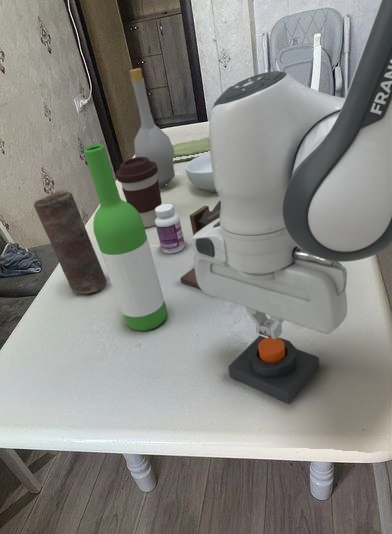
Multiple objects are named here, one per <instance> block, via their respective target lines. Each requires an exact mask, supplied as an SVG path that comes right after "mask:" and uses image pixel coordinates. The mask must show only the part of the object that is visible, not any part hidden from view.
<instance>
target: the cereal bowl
mask: <svg viewBox="0 0 392 534" xmlns="http://www.w3.org/2000/svg"><path fill="white" fill-rule="evenodd" d="M185 172H186V176H187V178H188V180H189V182H190V183H191V184H192V185H193V186H194V187H195V188H198V189H200V190H205V191H208V192H211V193H217V190H216V188H215V185H214V180H213V172H212V164H211V154H210V153H208V154H205V155H202V156H199V157H197V158H195V159H192V160H189V162H187V164H185Z"/></svg>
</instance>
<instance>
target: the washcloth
mask: <svg viewBox="0 0 392 534" xmlns="http://www.w3.org/2000/svg"><path fill="white" fill-rule="evenodd" d="M172 146H173V149H174V157H173V158H176V157H182V156H189V155H195V154H199V153H204V152H208V151H210V139H209V137H207V136H206V137H202V138H200V139H193V140H188V141H184V142H179V143H175V144H172ZM197 157H199V156H197ZM197 157H191V158H186V159H180V160H174V161H173V164H177V163H179V162H186V161H191V160H193V159H195V158H197Z"/></svg>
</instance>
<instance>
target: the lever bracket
mask: <svg viewBox="0 0 392 534" xmlns="http://www.w3.org/2000/svg"><path fill="white" fill-rule="evenodd" d="M206 210H207V211H210V206H209V205H202V206H201V207H200V208H199V209H197V210H195V211H194V212H192V213H191V214H189V220H190V226H191V231H192V236H193V235H195V234H196V233H197V232H198V231H200V230H201V229H202V228H201V226H200V224H199V223H198V221H199V219H200V218H201V217H202V215H203V214H204V213H205V211H206ZM220 210H221V209H220ZM220 210H218V211H217V212H215V213H214V214H213V215H211V216H210V217H208V218H207V219H206V221H207V225H208V224H210V223H211V222H213V221H214V220H216V219H218V218H220ZM180 283H181V284H183V285H186V286H189V287H191V288H192V287H193V288H196V289H199V290H201V288H200V287H199V286H198V283H197V279H196V274H195V268H194V267H193V268H191V269H190V270H189V271H187V272H186V273H185V274H183V275H182V276H181V277H180Z"/></svg>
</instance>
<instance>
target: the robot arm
mask: <svg viewBox="0 0 392 534" xmlns="http://www.w3.org/2000/svg"><path fill="white" fill-rule="evenodd" d="M378 3H379V4H378V6H377V9H376V12H375V14H374V17H373V21H372V23H371V25H370V28H369V32H368V34H367V36H366V40H365V42H364V45H363V47H362V51H361V53H360V56H359V58H358V62H357V64H356V66H355V68H354V69H355V70H354V72H353V75H352V77H351V81H350V84H349V86H348V89H347V92H346V95H345V97H340V96H336V95H331V94H328V93H325V92H321V91H319V90H316V89H314V88H311V87H309V86H307V85H305V84H303V83H301V82H300V81H298V80H296V79H295V78H294V77H293V76H292V75H291V74H289V73H288V72H286V71H280V70H273V71H268V72H262V73H259V74H255V75H251V76H250V77H247V78H245V79H242V80H240V81H238V82H237V83H235V84H234V85H231V86H229V87H228V88H227V89H226V90H224V91H223V92H222V93H221V94H220V96H219V97H217V98H216V100H215V101H214V103H213V106H212V107H211V108H210V112H209V122H208V135H209V139H210V154H211V164H212V172H213V180H214V185H215V188H216V190H217V192H216V193H217V195H218V197H219V201H220V202H221V210H220V218H218V219H216V220H214V221H213V222H211V223H210V224H208V225H207V226H205V227H204V228H202V229H201V230H200V231H198V232H197V233H196V234H195V235H193V234H192V236H190V239H189V243H190V247H191V250H192V251H193V252H194V254H193V268H195V274H196V279H197V283H198V286H199V287H200V288H201V289H200V290H201V291H202V292H203V294H205V295H208V296H210V297H214V298H217V299H220V300H223V301H225V302H229V303H232V304H235V305H238V306H241V307H244V308H246V312H247V314H248V316H249V318H250V319H251V320H252V322H253V324H255V332H256V333H257V334H259V335H261V336H263V337H266V338H269V337H270V338H272V339H277V338H280V336H281V335H282V333H283V328H282V327H283V325H282V324H283V323H284V321H286V322H289V323H292V324H295V325H298V326H301V327H303V328H307V329H310V330H313V331H315V332H318V333H322V334H324V335H329V334H331V333H333V332H334V331H336V330H337V329H338V328H339V327H340V326H341V325H342V323H343V322H344V321H345V320H346V318H347V316H348V298H347V285H348V284H347V283H348V282H347V281H348V271H347V269H346V267H345V266H344V265H343V264H342V263H341V262H355V261H361V260H364V259H368V258H371V257H372V256H375V255H377V254H380V253H381V252H383V251H384V250H386V249H388V248H389V247H390V246H392V0H380V1H379V2H378ZM267 315H268V316H269V318H268V317H267Z"/></svg>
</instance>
